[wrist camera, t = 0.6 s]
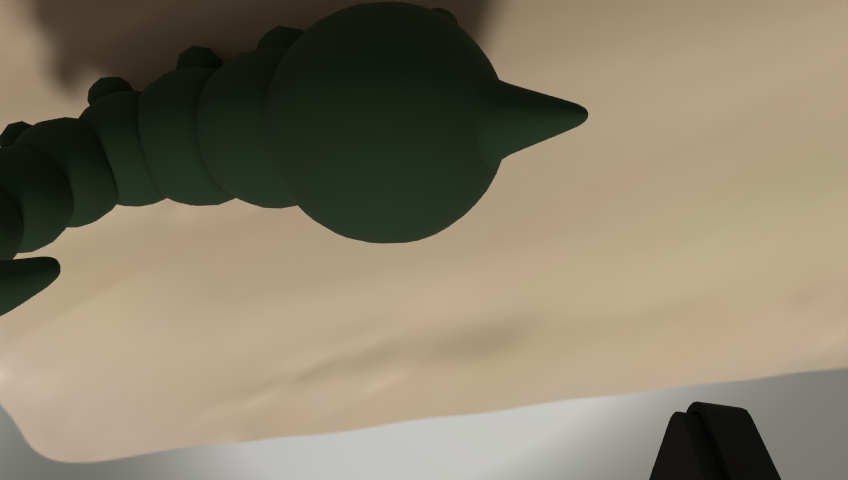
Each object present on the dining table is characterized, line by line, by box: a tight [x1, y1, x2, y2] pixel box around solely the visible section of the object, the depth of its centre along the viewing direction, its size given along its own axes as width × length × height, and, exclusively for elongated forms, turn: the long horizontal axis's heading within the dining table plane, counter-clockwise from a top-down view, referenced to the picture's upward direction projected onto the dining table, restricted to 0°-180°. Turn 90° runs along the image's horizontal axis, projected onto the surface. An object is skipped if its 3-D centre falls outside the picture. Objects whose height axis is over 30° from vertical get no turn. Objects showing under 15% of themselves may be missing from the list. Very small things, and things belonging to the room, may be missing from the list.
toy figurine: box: [0, 2, 588, 316], centre depth 30 cm, size 9×19×25 cm
